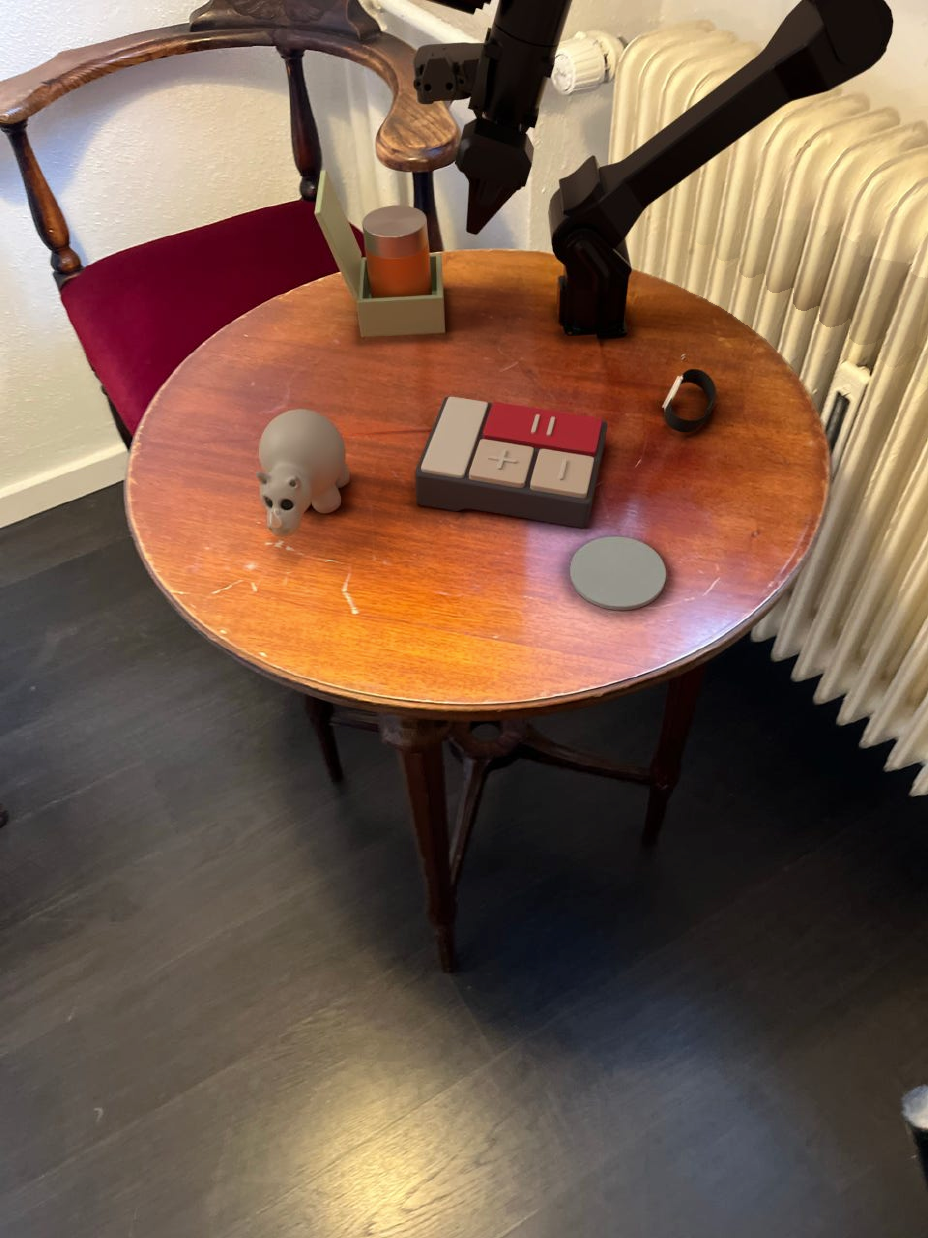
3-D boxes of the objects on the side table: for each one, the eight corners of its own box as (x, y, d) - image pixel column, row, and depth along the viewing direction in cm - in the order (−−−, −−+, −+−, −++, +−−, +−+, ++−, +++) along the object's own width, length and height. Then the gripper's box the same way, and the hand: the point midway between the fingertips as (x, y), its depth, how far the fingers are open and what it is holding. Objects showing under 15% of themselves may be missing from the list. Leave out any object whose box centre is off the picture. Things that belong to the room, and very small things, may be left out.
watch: (673, 383, 87) (679, 351, 84) (721, 394, 86) (728, 362, 83) (651, 431, 83) (656, 399, 80) (701, 442, 81) (708, 410, 79)
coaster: (656, 538, 74) (657, 533, 74) (673, 608, 69) (674, 603, 69) (565, 542, 74) (565, 538, 74) (575, 613, 69) (576, 609, 69)
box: (443, 292, 99) (441, 252, 96) (445, 337, 94) (442, 297, 90) (364, 296, 99) (359, 257, 96) (361, 341, 94) (356, 302, 90)
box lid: (326, 168, 88) (320, 170, 89) (320, 211, 83) (314, 213, 83) (361, 253, 95) (356, 255, 96) (358, 297, 90) (352, 299, 90)
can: (433, 293, 98) (426, 202, 90) (434, 326, 94) (427, 234, 86) (374, 296, 98) (362, 206, 90) (372, 329, 94) (360, 238, 86)
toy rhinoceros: (240, 559, 74) (214, 482, 68) (287, 464, 82) (268, 387, 75) (323, 569, 73) (304, 493, 67) (362, 473, 81) (349, 395, 74)
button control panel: (592, 497, 72) (413, 467, 74) (586, 534, 75) (414, 504, 77) (609, 413, 79) (445, 387, 81) (603, 451, 82) (445, 425, 84)
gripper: (446, -36, 79) (408, 142, 90) (417, 36, 67) (378, 231, 78) (565, 6, 80) (513, 176, 92) (558, 84, 68) (499, 268, 80)
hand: (476, 209), depth 85 cm, fingers open, 9 cm apart
